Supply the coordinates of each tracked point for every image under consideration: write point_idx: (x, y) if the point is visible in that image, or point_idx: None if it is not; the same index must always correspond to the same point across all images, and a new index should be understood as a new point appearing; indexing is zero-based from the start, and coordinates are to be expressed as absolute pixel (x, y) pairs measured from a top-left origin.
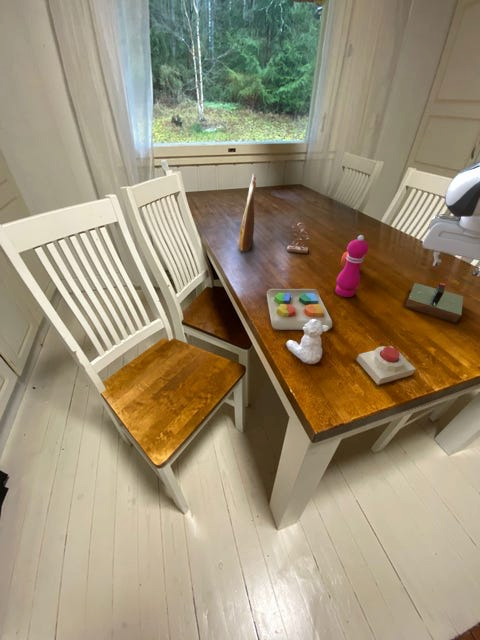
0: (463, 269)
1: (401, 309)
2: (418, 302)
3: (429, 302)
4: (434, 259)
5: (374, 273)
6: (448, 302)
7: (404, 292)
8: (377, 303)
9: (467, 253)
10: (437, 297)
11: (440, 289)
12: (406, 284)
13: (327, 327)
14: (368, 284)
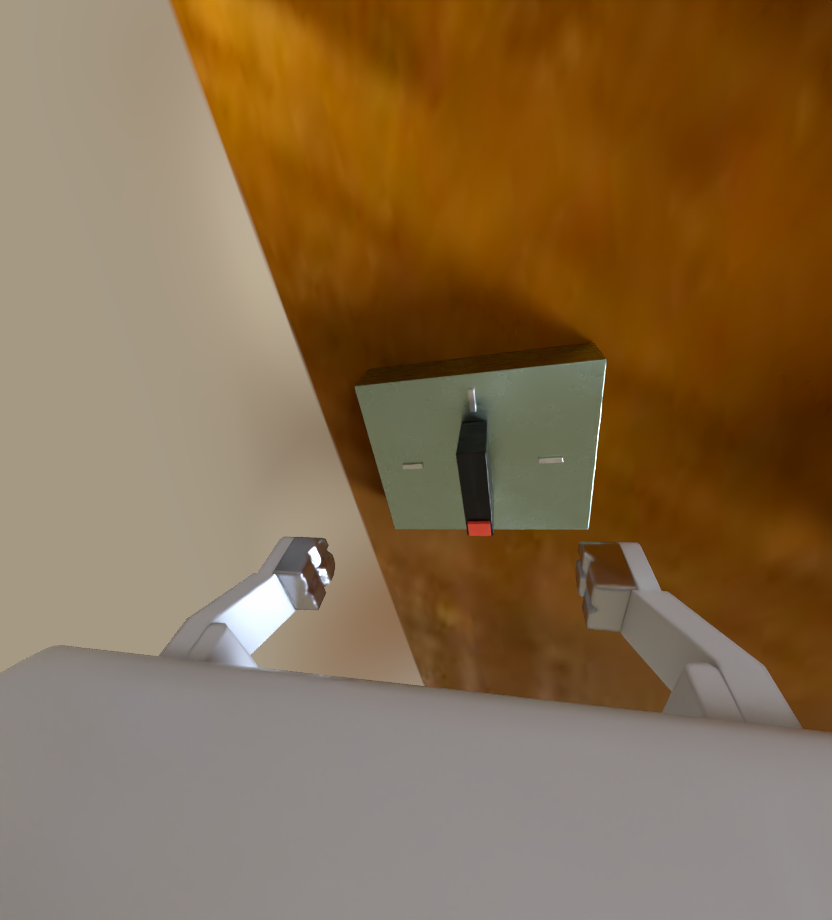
0: (446, 676)
1: (609, 298)
2: (547, 363)
3: (496, 397)
4: (678, 601)
5: (776, 548)
6: (425, 453)
7: (608, 468)
8: (774, 251)
9: (364, 749)
10: (473, 435)
11: (477, 480)
12: (606, 532)
13: None
14: (827, 433)
